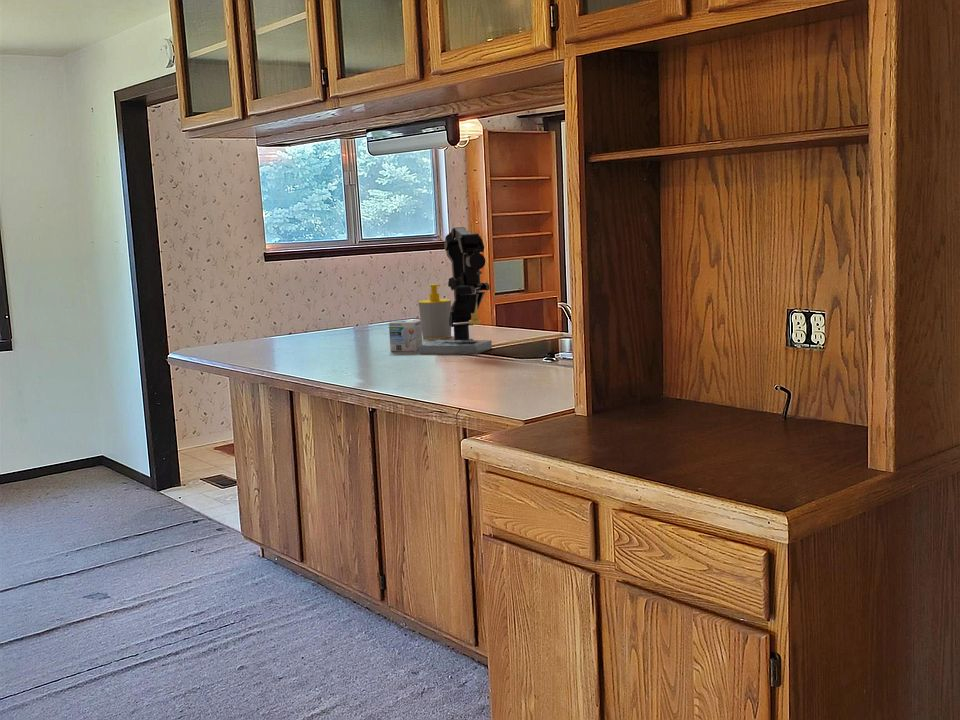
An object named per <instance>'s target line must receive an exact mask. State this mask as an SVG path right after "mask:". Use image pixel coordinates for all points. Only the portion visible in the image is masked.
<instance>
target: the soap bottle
mask: <svg viewBox="0 0 960 720" xmlns="http://www.w3.org/2000/svg"><path fill="white" fill-rule="evenodd" d="M429 287H430V293H429V299H424V300H420V301H418V310H419V318H420V319H419V320H421V326H422V339H425V340H441V339H448V338H451V337H452V327H451V326H449V317H450V311H451V306H452V300H451V299H448V298H440V292H438V287H441V284H437V283H434V284H433V283H432V284H429Z"/></svg>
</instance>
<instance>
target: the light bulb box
mask: <svg viewBox="0 0 960 720" xmlns="http://www.w3.org/2000/svg"><path fill="white" fill-rule="evenodd" d="M388 330H389V331H388V332H389V347H390V348H389V349H390V352H417V351H420V345H423V344H424V342H423V336H422V326H421V319H412V320H411V319H409V320H408V319H404V320H401V319H400V320H393V321H389V323H388Z"/></svg>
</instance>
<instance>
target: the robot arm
mask: <svg viewBox="0 0 960 720" xmlns="http://www.w3.org/2000/svg"><path fill="white" fill-rule="evenodd" d="M443 246H444V251H446V253H445V254H446V257H447V258H448V260H449V261H450V262H451V273H452V277H450V278H448V282H447V283H448V284H447V287H449V288H450V289H451V291H453V297H454V300H453V303H451V311H450V317H449V326H451V328H453V333H454V334H453V335H454V340H474V339H473V338H470V328H469V327H470V326H471V325H470V324H469V320H471V313H474V312H475V308H476V304H477V308H478V309H479V308H480V305H481V303H482V300H483V298H484V295H485V294H486V292H485V291H490V284H489V283H488V281H487V282H481V275H482V273H483V271H482V270H481V269H483V268H484V267H485V266H486V258H485V256H484V255H483V254H482V253H484V252H485V244H484V241H483V239H482V237H481V235H480V234H479V233H478V232H470V231H469V230H467V229H466V227H464V226H459V227H456V226H455V227H454V226H453V228H451V232H449V233H448V234H446V236H445V239H444V243H443Z"/></svg>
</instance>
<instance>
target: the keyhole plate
mask: <svg viewBox="0 0 960 720" xmlns="http://www.w3.org/2000/svg"><path fill="white" fill-rule="evenodd" d="M492 343H493V342H492V339H473V340H455V339H434V340H433V341H430V342H429V341H428V342H426V343H423V345H420V350H419V354H420V355H479V354H481V353H484V352H486V351H488V350H491V349H492V348H493V345H492Z"/></svg>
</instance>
